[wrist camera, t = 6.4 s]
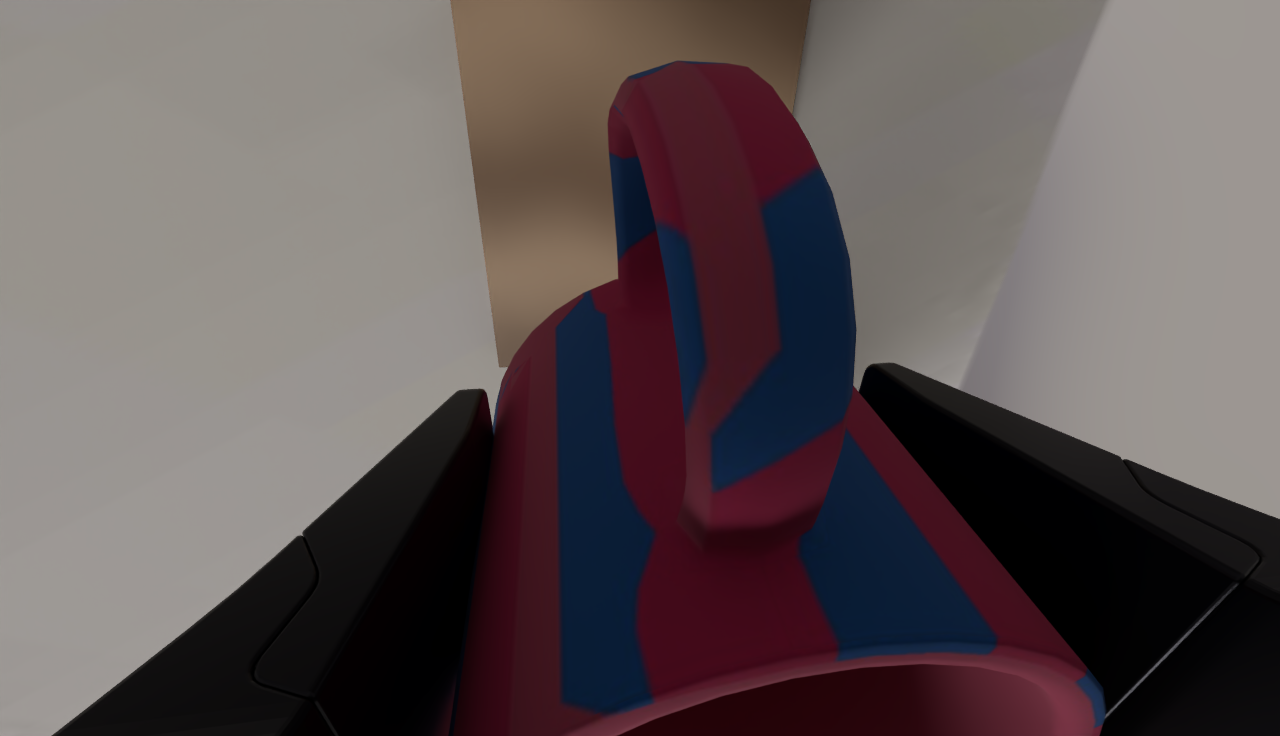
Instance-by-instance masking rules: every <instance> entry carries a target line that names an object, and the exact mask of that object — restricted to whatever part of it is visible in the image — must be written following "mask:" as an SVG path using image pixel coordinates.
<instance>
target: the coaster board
mask: <svg viewBox="0 0 1280 736" xmlns="http://www.w3.org/2000/svg"><path fill="white" fill-rule="evenodd" d="M810 2H811V0H451V8H452V15H453V23H454V30H455V38H456V46H457V53H458V61H459V68H460V76H461V83H462V91H463V98H464V106H465V113H466V121H467V129H468V136H469V144H470V151H471V159H472V166H473V174H474V181H475V189H476V196H477V204H478V211H479V219H480V227H481V234H482V242H483V249H484V257H485V264H486V272H487V279H488V287H489V294H490V302H491V310H492V317H493V325H494V332H495V340H496V347H497V355H498V362H499V367H509V365H510V363H511V360H512V358H513V356H514V355H515V353H516V352H517V351H518V349H519V348H520V347H521V345H522V344H523V343H524V341H525V340H526V339H527V337H528V336H529V335H530V334H531V332H532V331H533V330H534V329H535V328H536V327H538V326H539V325H540V324H541V323H542V322H543V321H544V320H545V319H546V318H547V317H549V316H550V315H551V314H552V313H553V312H554V311H555V310H557V309H558V308H560V307H561V306H563V305H565V304H566V303H568V302H569V301H571V300H573V299H574V298H576V297H577V296H579V295H580V294H582V293H584V292H586V291H589V290H591V289H593V288H596V287H598V286H600V285H603V284H605V283H608V282H610V281H612V280H615V279H618V259H617V241H616V228H615V217H614V205H613V193H612V182H611V171H610V160H609V147H608V124H607V123H608V117H609V110H610V107H611V105H612V103H613V101H614V99H615V96H616V94H617V92H618V90H619V88H620V86H621V84H622V83H623V82H624V81H625V79H626V78H627V77H628V76H631V75H634V74H637V73H640V72H643V71H646V70H649V69H652V68H655V67H659V66H662V65H665V64H668V63H671V62H674V61H677V60H678V61H697V62H716V63H729V64H735V65H741V66H746V67H749V68H750V69H751V70H753V71H754V72H755V73H756V74H758V75H759V76H760V77H761V78H762V79H764V80H765V81H766V82H767V83H769V84H770V85H771V86H772V87H773V88H774V90H775V91H776V93H777V94H778V95H779V97H780V98H781V100H782V101H783V103H784V104H785V105H786V107H787V108H788V110H789V111H790V112H791V114H792V112H793V106H794V100H795V94H796V88H797V82H798V76H799V69H800V63H801V57H802V51H803V45H804V39H805V33H806V27H807V21H808V14H809V8H810Z"/></svg>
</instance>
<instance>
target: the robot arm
mask: <svg viewBox="0 0 1280 736" xmlns="http://www.w3.org/2000/svg"><path fill="white" fill-rule="evenodd" d="M859 393H860V394H861V396H862V397H863V398H864V399H865V400H866V402H867V403H868V404H869V405H870V406H871V408H872V409H873V410H874V411H875V412H876V414H877V415H878V416H879V417H880V419H881V420H882V421H883V422H884V423H885V425H886V426H887V427H888V428H889V429H890V431H891V432H892V433H893V434H894V435H895V437H896V438H897V439H898V440H899V441H900V443H901V444H902V445H903V446H904V447H905V449H906V450H907V451H908V452H909V453H910V455H911V456H912V457H913V458H914V459H915V461H916V462H917V463H918V464H919V466H920V467H921V468H922V469H923V470H924V472H925V473H926V474H927V475H928V476H929V478H930V479H931V480H932V481H933V482H934V484H935V485H936V486H937V487H938V488H939V490H940V491H941V492H942V493H943V494H944V496H945V497H946V498H947V499H948V500H949V502H950V503H951V504H952V505H953V507H954V508H955V509H956V510H957V511H958V513H959V514H960V515H961V516H962V517H963V519H964V520H965V521H966V522H967V523H968V525H969V526H970V527H971V528H972V529H973V531H974V532H975V533H976V534H977V535H978V537H979V538H980V539H981V540H982V541H983V543H984V544H985V545H986V546H987V547H988V549H989V550H990V551H991V552H992V554H993V555H994V556H995V557H996V558H997V560H998V561H999V562H1000V563H1001V564H1002V566H1003V567H1004V568H1005V569H1006V570H1007V572H1008V573H1009V574H1010V575H1011V576H1012V578H1013V579H1014V580H1015V581H1016V582H1017V584H1018V585H1019V586H1020V587H1021V588H1022V590H1023V591H1024V592H1025V593H1026V594H1027V596H1028V597H1029V598H1030V599H1031V601H1032V602H1033V603H1034V604H1035V605H1036V607H1037V608H1038V609H1039V610H1040V611H1041V613H1042V614H1043V615H1044V616H1045V617H1046V619H1047V620H1048V621H1049V622H1050V623H1051V625H1052V626H1053V627H1054V628H1055V629H1056V631H1057V632H1058V633H1059V634H1060V635H1061V637H1062V638H1063V639H1064V640H1065V641H1066V643H1067V644H1068V645H1069V646H1070V648H1071V649H1072V650H1073V651H1074V652H1075V654H1076V655H1077V656H1078V657H1079V658H1080V660H1081V661H1082V662H1083V663H1084V664H1085V666H1086V667H1087V668H1088V669H1089V671H1090V672H1091V673H1092V674H1093V676H1094V677H1095V678H1096V680H1097V681H1098V682H1099V683H1100V685H1101V686H1102V687H1103V691H1104V697H1105V703H1106V709H1107V711H1106V715H1105V719H1104V722H1103V725H1102V729H1101V732H1100V735H1099V736H1280V519H1278V518H1275V517H1273V516H1269V515H1267V514H1264V513H1262V512H1259V511H1256V510H1254V509H1251V508H1248V507H1246V506H1243V505H1241V504H1238V503H1235V502H1232V501H1230V500H1227V499H1225V498H1222V497H1220V496H1217V495H1214V494H1212V493H1209V492H1206V491H1204V490H1201V489H1199V488H1196V487H1193V486H1191V485H1188V484H1186V483H1184V482H1181V481H1179V480H1176V479H1174V478H1171V477H1169V476H1166V475H1164V474H1161V473H1159V472H1156V471H1154V470H1152V469H1149V468H1147V467H1144V466H1142V465H1139V464H1137V463H1135V462H1132V461H1130V460H1127V459H1124V460H1122V459H1121V457H1119V456H1117V455H1115V454H1113V453H1110V452H1108V451H1105V450H1103V449H1100V448H1098V447H1096V446H1093V445H1091V444H1088V443H1086V442H1084V441H1081V440H1079V439H1076V438H1074V437H1072V436H1069V435H1067V434H1064V433H1062V432H1060V431H1057V430H1055V429H1052V428H1050V427H1048V426H1045V425H1043V424H1040V423H1038V422H1035V421H1033V420H1031V419H1028V418H1026V417H1023V416H1021V415H1019V414H1016V413H1013V412H1011V411H1009V410H1006V409H1004V408H1002V407H999V406H997V405H994V404H992V403H989V402H987V401H984V400H982V399H980V398H978V397H975V396H972V395H970V394H968V393H965V392H963V391H961V390H958V389H956V388H953V387H951V386H949V385H946V384H944V383H941V382H939V381H936V380H934V379H932V378H929V377H927V376H924V375H922V374H920V373H917V372H915V371H912V370H910V369H908V368H905V367H903V366H900V365H898V364H895V363H877V364H871V365H869V366H868V367H867V368H866V370H865V372H864V376H863V379H862V382H861V386H860V389H859ZM493 438H494V434H493V426H492V421H491V415H490V409H489V403H488V397H487V393H486V392H485V390H483V389H467V390H459V391H457V392H456V393H455V394H453V395H452V396H451V397H450V398H449V399H448V400H447V401H446V402H445V403H444V404H442V405H441V406H440V407H439V408H438V409H437V410H436V411H435V412H434V413H433V414H431V415H430V416H429V417H428V418H427V419H426V420H425V421H424V422H423V423H421V424H420V425H419V426H418V427H417V428H416V429H415V430H414V431H413V432H412V433H410V434H409V435H408V436H407V437H406V438H405V439H404V440H403V441H402V442H401V443H399V444H398V445H397V446H396V447H395V448H394V449H393V450H392V451H391V452H390V453H388V454H387V455H386V456H385V457H384V458H383V459H382V460H381V461H380V462H379V463H377V464H376V465H375V466H374V467H373V468H372V469H371V470H370V471H369V472H368V473H366V474H365V475H364V476H363V477H362V478H361V479H360V480H359V481H358V482H357V483H355V484H354V485H353V486H352V487H351V488H350V489H349V490H348V491H347V492H346V493H344V494H343V495H342V496H341V497H340V498H339V499H338V500H337V501H336V502H335V503H333V504H332V505H331V506H330V507H329V508H328V509H327V510H326V511H325V512H324V513H322V514H321V515H320V516H319V517H318V518H317V519H316V520H315V521H314V522H312V523H311V524H310V525H309V526H308V527H307V528H306V529H305V530H304V531H303V533H302V534H303V536H301V535H300V536H297V537H296V538H295V539H293V540H292V541H291V542H290V543H289V544H288V545H287V546H286V547H285V548H284V549H282V550H281V551H280V552H279V553H278V554H277V555H276V556H275V557H274V558H272V559H271V560H270V561H269V562H268V563H267V564H266V565H264V566H263V567H262V568H261V569H260V570H259V571H258V572H256V573H255V574H254V575H253V576H252V577H251V578H249V579H248V580H247V581H246V582H245V583H244V584H243V585H241V586H240V587H239V588H238V589H237V590H236V591H234V592H233V593H232V594H231V595H229V596H228V597H227V598H226V599H225V600H223V601H222V602H221V603H220V604H218V605H217V606H216V607H215V608H213V609H212V610H211V611H210V612H208V613H207V614H206V615H205V616H204V617H202V618H201V619H200V620H199V621H197V622H196V623H195V624H194V625H192V626H191V627H190V628H189V629H187V630H186V631H185V632H184V633H182V634H181V635H180V636H179V637H177V638H176V639H175V640H173V641H172V642H171V643H170V644H168V645H167V646H166V647H164V648H163V649H162V650H161V651H159V652H158V653H157V654H156V655H154V656H153V657H152V658H150V659H149V660H148V661H147V662H145V663H144V664H143V665H142V666H140V667H139V668H138V669H136V670H135V671H134V672H133V673H131V674H130V675H129V676H127V677H126V678H125V679H124V680H122V681H121V682H120V683H119V684H117V685H116V686H115V687H113V688H112V689H111V690H110V691H108V692H107V693H106V694H104V695H103V696H102V697H101V698H99V699H98V700H97V701H96V702H94V703H93V704H92V705H90V706H89V707H88V708H87V709H85V710H84V711H83V712H82V713H80V714H79V715H78V716H76V717H75V718H74V719H73V720H71V721H70V722H69V723H67V724H66V725H65V726H64V727H62V728H61V729H60V730H59V731H57V732H56V733H55V734H53V735H52V736H449V729H450V722H451V715H452V708H453V701H454V694H455V687H456V680H457V673H458V666H459V659H460V652H461V645H462V638H463V631H464V624H465V617H466V610H467V603H468V596H469V590H470V583H471V576H472V570H473V565H474V559H475V553H476V547H477V542H478V536H479V530H480V525H481V519H482V513H483V507H484V501H485V495H486V488H487V481H488V474H489V466H490V459H491V452H492V445H493Z"/></svg>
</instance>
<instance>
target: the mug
mask: <svg viewBox="0 0 1280 736" xmlns="http://www.w3.org/2000/svg"><path fill="white" fill-rule="evenodd" d="M607 124H608V147H609V160H610V171H611V182H612V193H613V205H614V217H615V228H616V241H617V259H618V279H615V280H612V281H610V282H608V283H605V284H603V285H600V286H598V287H596V288H593V289H591V290H589V291H586V292H584V293H582V294H580V295H579V296H577V297H576V298H574V299H573V300H571V301H569V302H568V303H566V304H565V305H563V306H561V307H560V308H558V309H557V310H555V311H554V312H553V313H552V314H551V315H550V316H549V317H547V318H546V319H545V320H544V321H543V322H542V323H541V324H540V325H539V326H538V327H536V328H535V329H534V330H533V331H532V332H531V334H530V335H529V336H528V337H527V339H526V340H525V341H524V343H523V344H522V345H521V347H520V348H519V349H518V351H517V352H516V353H515V355H514V356H513V358H512V360H511V363H510V365H509V367H508V369H507V371H506V373H505V375H504V377H503V379H502V382H501V387H500V391H499V395H498V399H497V403H496V409H495V415H494V422H493V434H494V438H493V445H492V452H491V459H490V466H489V474H488V481H487V488H486V495H485V501H484V507H483V513H482V519H481V525H480V530H479V536H478V542H477V547H476V553H475V559H474V565H473V570H472V576H471V583H470V590H469V596H468V603H467V610H466V617H465V624H464V631H463V638H462V645H461V652H460V659H459V666H458V673H457V680H456V687H455V694H454V701H453V708H452V715H451V722H450V729H449V736H1099V735H1100V732H1101V729H1102V725H1103V722H1104V719H1105V715H1106V711H1107V709H1106V703H1105V697H1104V691H1103V687H1102V686H1101V685H1100V683H1099V682H1098V681H1097V680H1096V678H1095V677H1094V676H1093V674H1092V673H1091V672H1090V671H1089V669H1088V668H1087V667H1086V666H1085V664H1084V663H1083V662H1082V661H1081V660H1080V658H1079V657H1078V656H1077V655H1076V654H1075V652H1074V651H1073V650H1072V649H1071V648H1070V646H1069V645H1068V644H1067V643H1066V641H1065V640H1064V639H1063V638H1062V637H1061V635H1060V634H1059V633H1058V632H1057V631H1056V629H1055V628H1054V627H1053V626H1052V625H1051V623H1050V622H1049V621H1048V620H1047V619H1046V617H1045V616H1044V615H1043V614H1042V613H1041V611H1040V610H1039V609H1038V608H1037V607H1036V605H1035V604H1034V603H1033V602H1032V601H1031V599H1030V598H1029V597H1028V596H1027V594H1026V593H1025V592H1024V591H1023V590H1022V588H1021V587H1020V586H1019V585H1018V584H1017V582H1016V581H1015V580H1014V579H1013V578H1012V576H1011V575H1010V574H1009V573H1008V572H1007V570H1006V569H1005V568H1004V567H1003V566H1002V564H1001V563H1000V562H999V561H998V560H997V558H996V557H995V556H994V555H993V554H992V552H991V551H990V550H989V549H988V547H987V546H986V545H985V544H984V543H983V541H982V540H981V539H980V538H979V537H978V535H977V534H976V533H975V532H974V531H973V529H972V528H971V527H970V526H969V525H968V523H967V522H966V521H965V520H964V519H963V517H962V516H961V515H960V514H959V513H958V511H957V510H956V509H955V508H954V507H953V505H952V504H951V503H950V502H949V500H948V499H947V498H946V497H945V496H944V494H943V493H942V492H941V491H940V490H939V488H938V487H937V486H936V485H935V484H934V482H933V481H932V480H931V479H930V478H929V476H928V475H927V474H926V473H925V472H924V470H923V469H922V468H921V467H920V466H919V464H918V463H917V462H916V461H915V459H914V458H913V457H912V456H911V455H910V453H909V452H908V451H907V450H906V449H905V447H904V446H903V445H902V444H901V443H900V441H899V440H898V439H897V438H896V437H895V435H894V434H893V433H892V432H891V431H890V429H889V428H888V427H887V426H886V425H885V423H884V422H883V421H882V420H881V419H880V417H879V416H878V415H877V414H876V412H875V411H874V410H873V409H872V408H871V406H870V405H869V404H868V403H867V402H866V400H865V399H864V398H863V397H862V396H861V394H860V393H859V392H858V391H857V390H856V388H855V387H854V386H853V378H854V361H855V344H856V321H855V311H854V300H853V289H852V279H851V268H850V258H849V254H848V250H847V247H846V243H845V239H844V235H843V231H842V228H841V224H840V220H839V216H838V212H837V209H836V205H835V201H834V197H833V193H832V191H831V189H830V186H829V184H828V182H827V180H826V178H825V176H824V173H823V171H822V169H821V167H820V165H819V163H818V161H817V158H816V156H815V154H814V152H813V150H812V148H811V145H810V143H809V141H808V140H807V138H806V136H805V134H804V133H803V131H802V129H801V128H800V126H799V124H798V122H797V121H796V120H795V118H794V117H793V115H792V114H791V112H790V111H789V110H788V108H787V107H786V105H785V104H784V103H783V101H782V100H781V98H780V97H779V95H778V94H777V93H776V91H775V90H774V88H773V87H772V86H771V85H770V84H769V83H767V82H766V81H765V80H764V79H762V78H761V77H760V76H759V75H758V74H756V73H755V72H754V71H753V70H751V69H750V68H749V67H746V66H741V65H735V64H729V63H716V62H697V61H678V60H677V61H674V62H671V63H668V64H665V65H662V66H659V67H655V68H652V69H649V70H646V71H643V72H640V73H637V74H634V75H631V76H628V77H627V78H626V79H625V81H624V82H623V83H622V84H621V86H620V88H619V90H618V92H617V94H616V96H615V99H614V101H613V103H612V105H611V107H610V110H609V117H608V123H607Z"/></svg>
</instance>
